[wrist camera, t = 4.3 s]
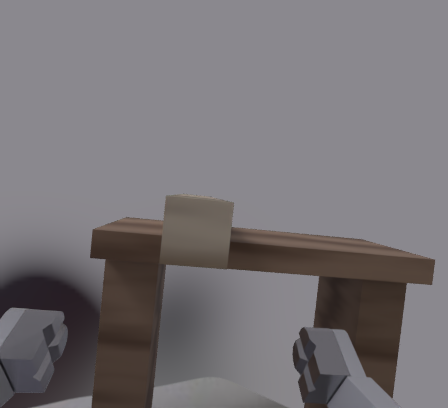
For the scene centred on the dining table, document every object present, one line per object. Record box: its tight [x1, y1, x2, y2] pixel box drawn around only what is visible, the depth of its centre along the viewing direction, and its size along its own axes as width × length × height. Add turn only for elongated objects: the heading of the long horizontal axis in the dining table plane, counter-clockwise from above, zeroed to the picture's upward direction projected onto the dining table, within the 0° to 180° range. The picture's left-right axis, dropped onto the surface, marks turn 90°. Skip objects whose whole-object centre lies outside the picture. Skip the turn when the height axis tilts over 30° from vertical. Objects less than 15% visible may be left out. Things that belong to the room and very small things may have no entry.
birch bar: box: [159, 194, 234, 269], centre depth 23 cm, size 20×3×3 cm, turn 6°
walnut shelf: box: [90, 217, 435, 408], centre depth 27 cm, size 10×26×26 cm, turn 96°
